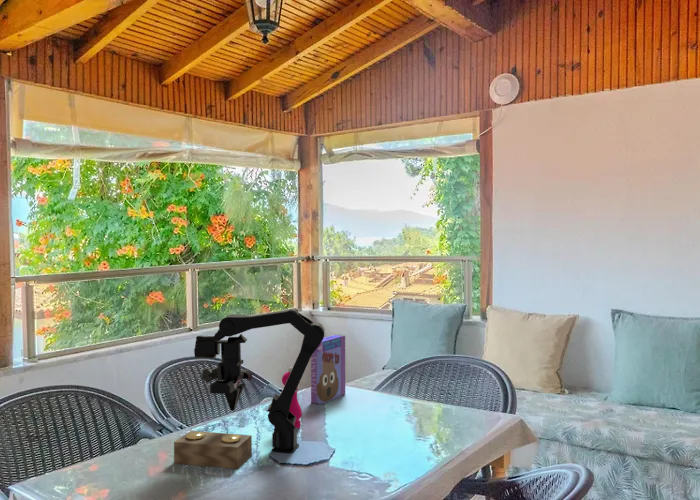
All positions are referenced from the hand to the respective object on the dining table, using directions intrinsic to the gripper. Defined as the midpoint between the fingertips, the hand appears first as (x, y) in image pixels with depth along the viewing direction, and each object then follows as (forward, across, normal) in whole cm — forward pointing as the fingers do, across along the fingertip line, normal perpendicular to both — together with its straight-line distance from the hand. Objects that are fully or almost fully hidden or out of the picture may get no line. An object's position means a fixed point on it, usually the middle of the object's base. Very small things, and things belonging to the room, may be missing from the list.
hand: (232, 410), depth 177 cm
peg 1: (+12, +9, -8) cm, 17 cm away
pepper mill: (+12, -24, +10) cm, 29 cm away
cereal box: (+13, -60, +15) cm, 64 cm away
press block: (+12, +9, -2) cm, 15 cm away
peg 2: (+12, +9, +3) cm, 15 cm away
